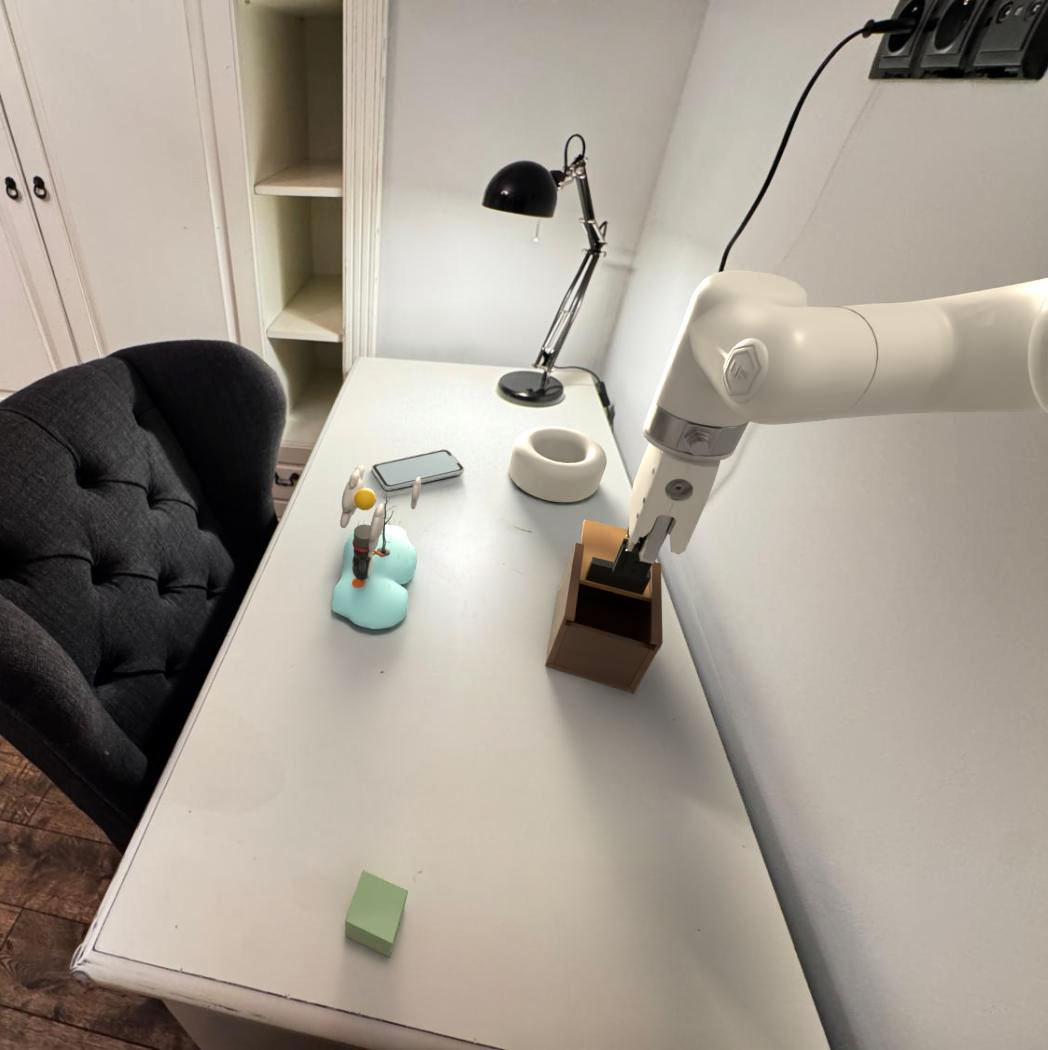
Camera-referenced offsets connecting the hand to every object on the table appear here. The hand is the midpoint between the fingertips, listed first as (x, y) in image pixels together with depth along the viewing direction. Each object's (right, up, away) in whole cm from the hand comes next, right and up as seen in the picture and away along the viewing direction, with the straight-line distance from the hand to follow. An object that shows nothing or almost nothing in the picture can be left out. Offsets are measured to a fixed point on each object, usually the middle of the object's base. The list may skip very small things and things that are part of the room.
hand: (627, 573), depth 62 cm
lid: (+3, +1, +10) cm, 10 cm away
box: (0, -9, +10) cm, 13 cm away
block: (-28, -29, -13) cm, 42 cm away
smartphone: (-18, +14, +37) cm, 44 cm away
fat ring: (+5, +13, +36) cm, 39 cm away
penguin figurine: (-27, -2, +18) cm, 32 cm away
